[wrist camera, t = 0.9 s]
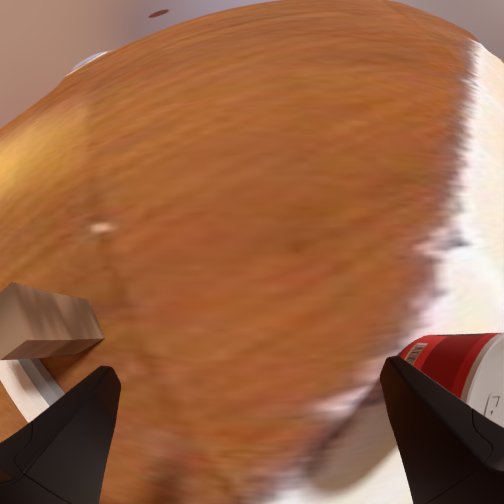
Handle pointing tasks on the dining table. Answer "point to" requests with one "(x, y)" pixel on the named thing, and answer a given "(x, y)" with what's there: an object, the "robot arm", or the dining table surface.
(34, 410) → the ridge block
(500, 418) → the canned food
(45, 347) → the tall brown block
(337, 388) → the dining table surface
